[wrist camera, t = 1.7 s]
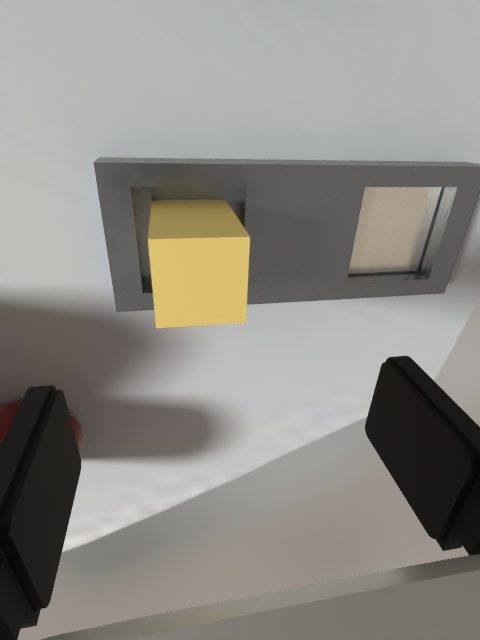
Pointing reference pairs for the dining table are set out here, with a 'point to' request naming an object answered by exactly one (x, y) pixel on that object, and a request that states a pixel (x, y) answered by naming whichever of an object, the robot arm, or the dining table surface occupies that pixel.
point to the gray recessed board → (300, 223)
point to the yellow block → (197, 263)
